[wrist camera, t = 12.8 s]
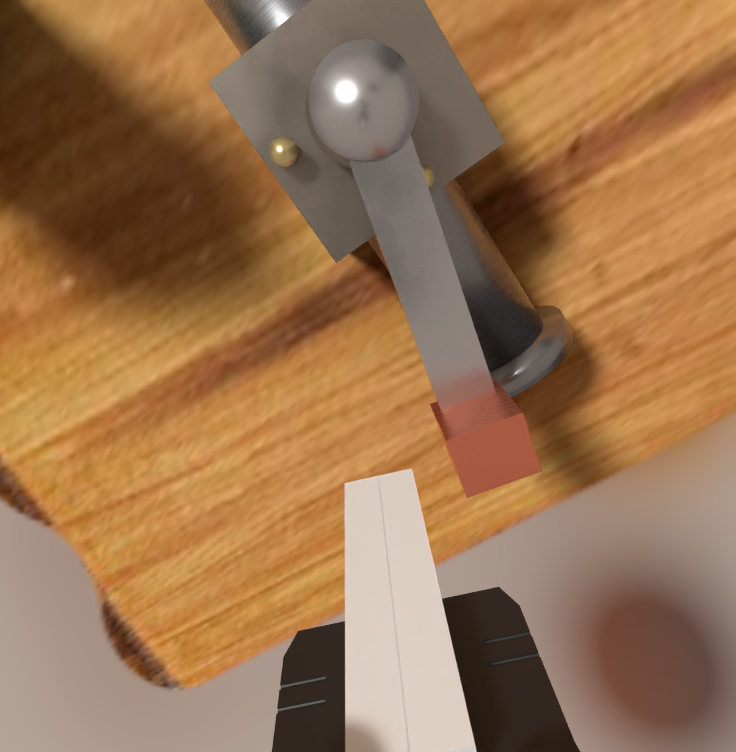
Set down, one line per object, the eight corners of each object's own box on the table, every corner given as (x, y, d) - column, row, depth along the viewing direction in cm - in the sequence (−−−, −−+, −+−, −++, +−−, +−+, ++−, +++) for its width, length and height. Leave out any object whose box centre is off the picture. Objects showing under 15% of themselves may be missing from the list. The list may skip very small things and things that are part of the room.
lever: (295, 75, 21) (284, 48, 16) (392, 34, 20) (406, -3, 16) (437, 450, 25) (456, 501, 21) (517, 420, 25) (552, 467, 21)
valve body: (105, -88, 27) (-18, -232, 18) (244, -210, 26) (192, -431, 17) (435, 385, 35) (472, 458, 25) (553, 307, 34) (635, 354, 24)
